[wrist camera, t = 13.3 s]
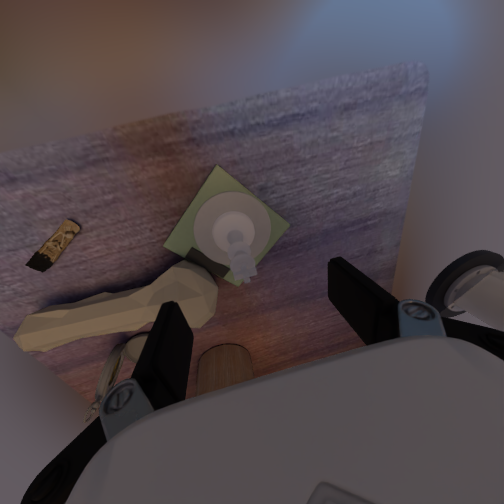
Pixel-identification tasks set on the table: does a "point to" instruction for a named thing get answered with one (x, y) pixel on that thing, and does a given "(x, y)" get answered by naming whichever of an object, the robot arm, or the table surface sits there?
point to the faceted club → (122, 309)
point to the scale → (205, 214)
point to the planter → (223, 368)
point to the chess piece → (236, 242)
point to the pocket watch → (116, 368)
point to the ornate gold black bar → (53, 247)
